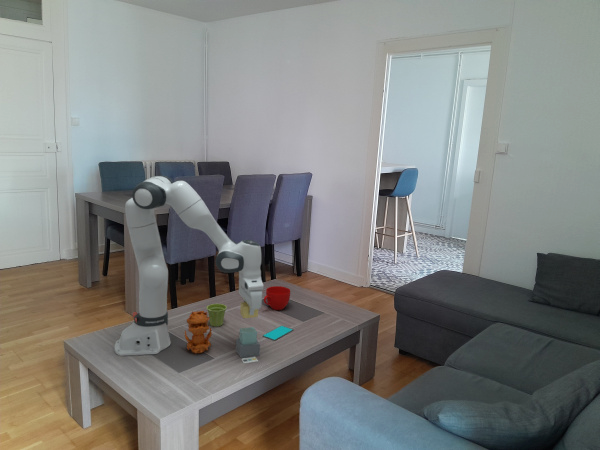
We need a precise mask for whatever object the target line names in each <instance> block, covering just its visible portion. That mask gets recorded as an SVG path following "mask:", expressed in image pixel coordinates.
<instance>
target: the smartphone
mask: <svg viewBox="0 0 600 450" xmlns="http://www.w3.org/2000/svg"><path fill="white" fill-rule="evenodd" d="M293 331H294V329H293V328H291V327H289V326H284V325H280V326H278V327H276V328H274V329H272V330H270V331H268V332H267V333H265V334H263V335H262V338H265V339H268V340H270V341H273V342H274V341H275V342H276V341H277V340H279V339H281V338H283V337H284V336H287V335H288V334H290V333H292V332H293Z"/></svg>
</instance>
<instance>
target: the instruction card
mask: <svg viewBox="0 0 600 450" xmlns="http://www.w3.org/2000/svg"><path fill="white" fill-rule="evenodd" d="M241 361H242V363H243V364H250V363H256V362H259V360H258V358H257V356H253V357H247V358H241Z"/></svg>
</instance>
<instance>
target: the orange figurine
mask: <svg viewBox="0 0 600 450" xmlns="http://www.w3.org/2000/svg"><path fill="white" fill-rule="evenodd" d="M209 318H210V317H209V315H208V311H206V312H205V310H200V311H199V310H197V311H194V310H193V311H192V312H191V313H190V314H189V317H188V318H187V319H186V323H187V326H188V329H187V330H188V332H190V333H191V334H192V336H191V339H190V338H189V337H188V335H187V330H186V329H185V330H184V338H185V340H186V342H187V344H186V349H187V351H189V350H190V351H191V353H194V354H202V353H204V352H205V351H208V350H209V349H208V348H210V347H212V344H211V341H210V338H211V337H212V333H213V332H212V330H213V329H212V327H210V326H209V323H208V322H210V319H209ZM206 333H207V335H206V336H205V334H206Z"/></svg>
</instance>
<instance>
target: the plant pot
mask: <svg viewBox="0 0 600 450" xmlns="http://www.w3.org/2000/svg"><path fill="white" fill-rule="evenodd" d="M226 309H228V308H227V305H225V304H222V303H212V304H209V305H207V306H206V310H207V313H208V317H210V318H209V324H210V326H212V327H213V326H214V327H215V328H216V327H220V326H222V325H224V319H225V314H226Z"/></svg>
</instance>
